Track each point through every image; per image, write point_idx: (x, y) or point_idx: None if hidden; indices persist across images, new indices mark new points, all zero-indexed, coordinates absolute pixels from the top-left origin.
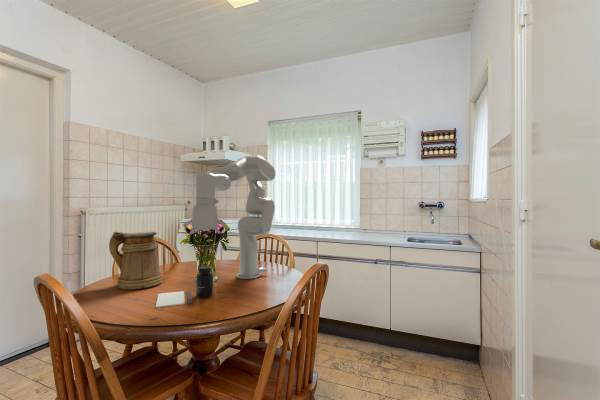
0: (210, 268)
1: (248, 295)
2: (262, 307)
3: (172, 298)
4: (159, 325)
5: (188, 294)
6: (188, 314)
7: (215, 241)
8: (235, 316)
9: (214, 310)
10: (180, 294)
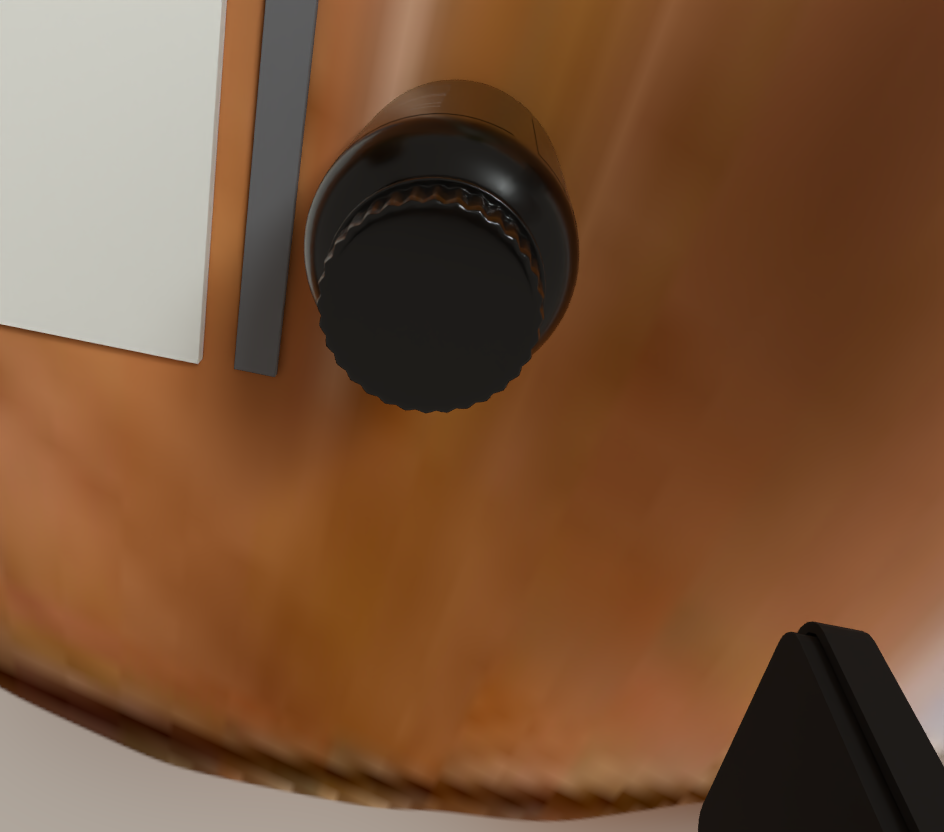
0: (514, 373)
1: (888, 441)
2: None
3: (76, 126)
4: (9, 667)
5: (278, 42)
6: (215, 594)
7: (790, 657)
8: (524, 781)
9: (425, 621)
10: (175, 1)
